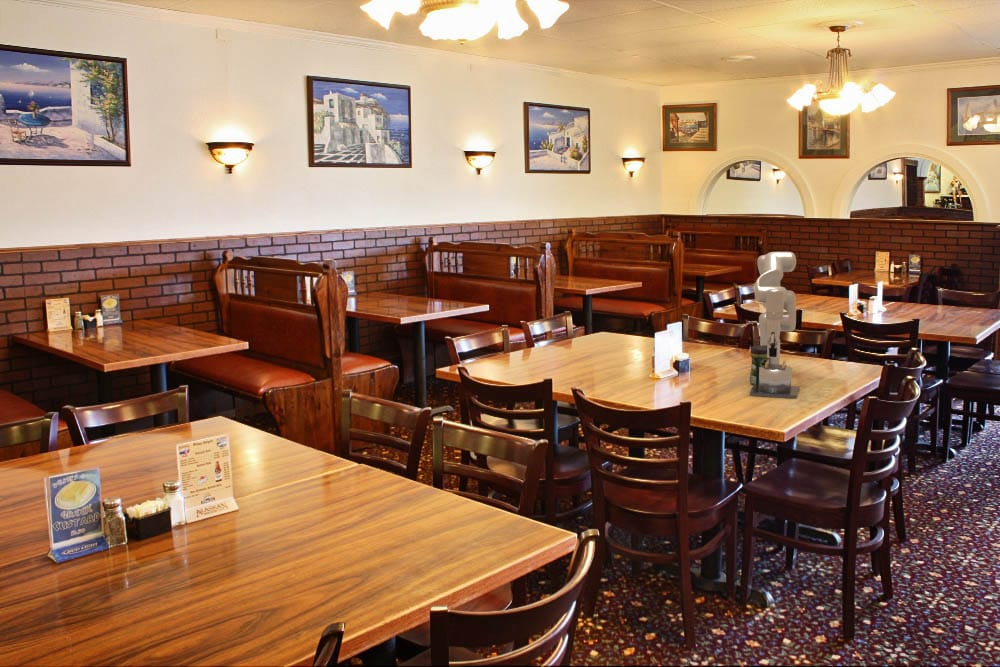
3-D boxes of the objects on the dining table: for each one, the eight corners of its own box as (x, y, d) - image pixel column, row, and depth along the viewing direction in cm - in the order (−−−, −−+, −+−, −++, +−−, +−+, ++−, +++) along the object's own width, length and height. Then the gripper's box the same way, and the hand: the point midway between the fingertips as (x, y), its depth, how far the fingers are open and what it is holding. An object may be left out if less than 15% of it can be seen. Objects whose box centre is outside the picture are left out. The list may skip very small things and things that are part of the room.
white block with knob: (768, 355, 402) (768, 339, 401) (779, 356, 400) (780, 339, 399) (767, 357, 398) (767, 340, 396) (778, 358, 396) (779, 341, 395)
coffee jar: (764, 381, 425) (765, 343, 422) (773, 384, 417) (775, 346, 414) (746, 383, 422) (747, 345, 419) (755, 386, 415) (756, 347, 412)
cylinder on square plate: (754, 386, 414) (755, 356, 412) (799, 389, 407) (800, 358, 404) (749, 395, 396) (750, 364, 394) (796, 398, 388) (797, 367, 386)
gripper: (767, 313, 405) (767, 352, 408) (763, 318, 390) (762, 358, 393) (785, 313, 402) (783, 352, 405) (781, 318, 387) (780, 359, 390)
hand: (773, 355), depth 399 cm, fingers closed on white block with knob, 5 cm apart
